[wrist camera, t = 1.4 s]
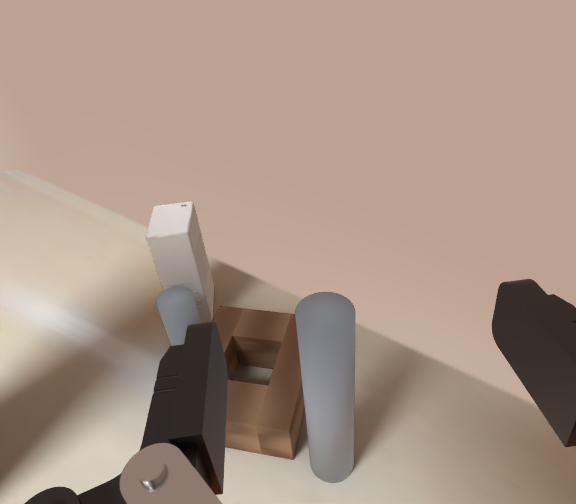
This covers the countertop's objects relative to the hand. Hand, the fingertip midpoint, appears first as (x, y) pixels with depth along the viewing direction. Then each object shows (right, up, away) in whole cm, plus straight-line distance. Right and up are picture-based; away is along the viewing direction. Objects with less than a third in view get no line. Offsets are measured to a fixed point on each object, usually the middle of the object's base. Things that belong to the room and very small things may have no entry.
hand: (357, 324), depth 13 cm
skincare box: (-13, -4, +38) cm, 40 cm away
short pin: (-12, -8, +33) cm, 36 cm away
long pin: (+1, -14, +22) cm, 26 cm away
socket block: (-5, -10, +28) cm, 30 cm away
